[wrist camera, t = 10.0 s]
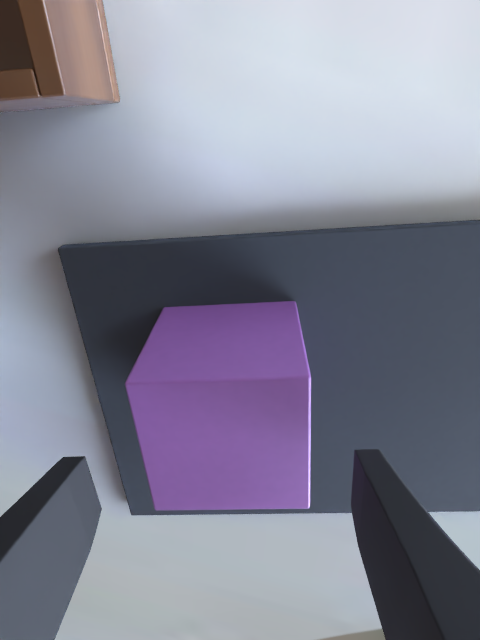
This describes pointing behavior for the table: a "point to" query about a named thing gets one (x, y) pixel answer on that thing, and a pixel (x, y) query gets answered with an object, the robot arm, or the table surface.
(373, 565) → the robot arm
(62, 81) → the brown wooden tray
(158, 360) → the block
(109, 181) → the table surface
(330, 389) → the mat
